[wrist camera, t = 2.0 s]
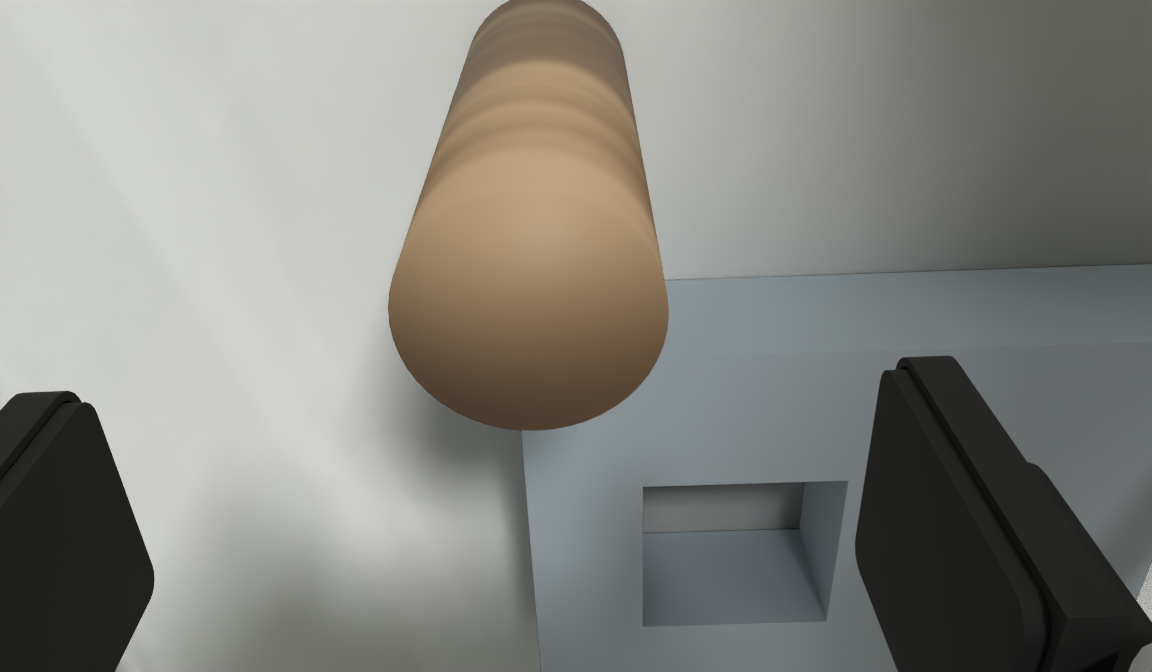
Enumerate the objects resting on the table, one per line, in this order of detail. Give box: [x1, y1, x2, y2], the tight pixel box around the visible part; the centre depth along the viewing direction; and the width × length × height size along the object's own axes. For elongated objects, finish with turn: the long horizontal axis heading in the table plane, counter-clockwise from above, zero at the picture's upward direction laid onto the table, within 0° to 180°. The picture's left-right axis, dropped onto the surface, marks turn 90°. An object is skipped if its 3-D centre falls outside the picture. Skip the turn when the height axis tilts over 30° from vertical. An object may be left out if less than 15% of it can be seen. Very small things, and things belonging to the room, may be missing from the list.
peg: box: [388, 0, 669, 431], centre depth 18 cm, size 4×4×12 cm
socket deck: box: [521, 264, 1152, 672], centre depth 25 cm, size 16×20×14 cm
